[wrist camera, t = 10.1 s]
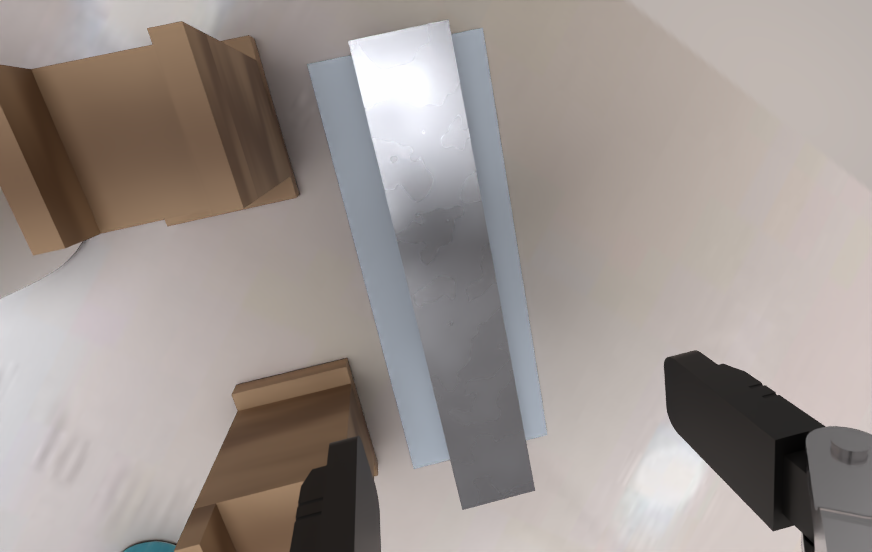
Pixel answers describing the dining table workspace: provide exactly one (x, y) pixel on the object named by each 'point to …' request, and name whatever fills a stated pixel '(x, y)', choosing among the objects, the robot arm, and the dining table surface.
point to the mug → (23, 255)
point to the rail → (445, 253)
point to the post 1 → (140, 138)
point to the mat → (382, 252)
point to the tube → (152, 547)
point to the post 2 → (273, 458)
